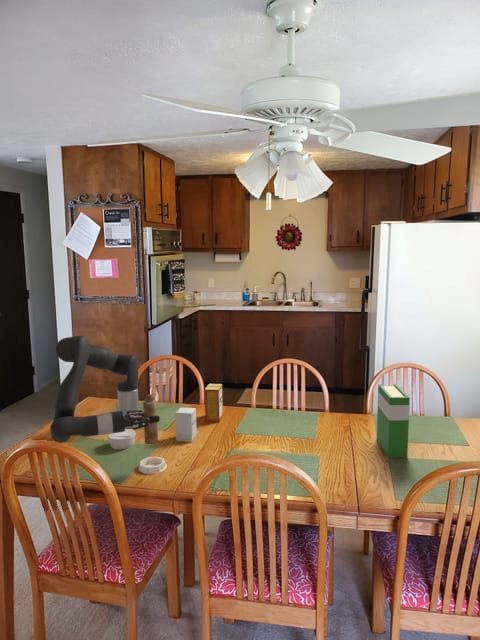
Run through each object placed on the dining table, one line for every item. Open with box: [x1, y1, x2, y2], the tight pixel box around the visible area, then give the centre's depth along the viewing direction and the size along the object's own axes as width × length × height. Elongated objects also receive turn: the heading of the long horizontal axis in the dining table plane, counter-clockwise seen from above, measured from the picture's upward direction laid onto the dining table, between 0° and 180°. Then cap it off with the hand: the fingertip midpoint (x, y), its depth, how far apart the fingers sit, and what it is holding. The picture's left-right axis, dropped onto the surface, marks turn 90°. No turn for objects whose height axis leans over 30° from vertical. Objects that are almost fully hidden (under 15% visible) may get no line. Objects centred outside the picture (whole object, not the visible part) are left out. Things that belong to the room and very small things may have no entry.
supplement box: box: [174, 407, 198, 443], centre depth 214 cm, size 7×7×13 cm
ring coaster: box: [138, 456, 168, 475], centre depth 185 cm, size 10×10×3 cm
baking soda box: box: [204, 383, 224, 423], centre depth 237 cm, size 10×6×16 cm
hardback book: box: [376, 383, 411, 458], centre depth 199 cm, size 18×7×24 cm, turn 179°
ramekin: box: [107, 428, 137, 451], centre depth 208 cm, size 11×11×5 cm
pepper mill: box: [142, 393, 159, 445], centre depth 183 cm, size 5×5×18 cm
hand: (157, 416), depth 183 cm, fingers closed on pepper mill, 4 cm apart
